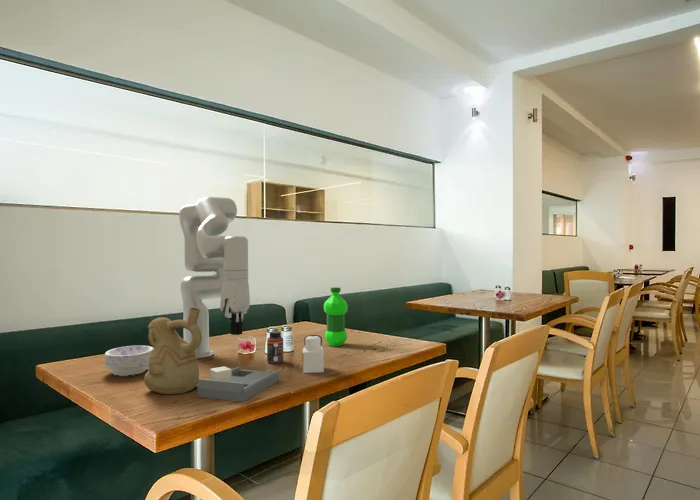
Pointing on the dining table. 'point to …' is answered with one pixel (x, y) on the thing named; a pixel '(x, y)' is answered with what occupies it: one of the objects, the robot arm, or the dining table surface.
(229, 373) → the cream block
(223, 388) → the tray
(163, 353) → the ceramic vessel
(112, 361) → the paper bowls
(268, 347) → the supplement bottle
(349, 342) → the dining table surface
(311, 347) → the medicine bottle
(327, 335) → the plastic bottle
